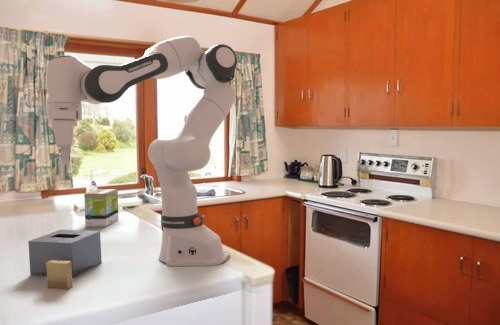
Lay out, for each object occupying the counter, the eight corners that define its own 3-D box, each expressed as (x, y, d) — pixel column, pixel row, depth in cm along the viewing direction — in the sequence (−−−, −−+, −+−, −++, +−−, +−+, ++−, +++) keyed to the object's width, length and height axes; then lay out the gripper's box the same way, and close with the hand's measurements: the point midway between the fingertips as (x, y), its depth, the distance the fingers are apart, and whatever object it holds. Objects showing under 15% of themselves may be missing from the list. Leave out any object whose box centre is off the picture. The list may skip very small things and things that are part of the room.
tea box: (107, 226, 180) (106, 193, 179) (84, 227, 180) (82, 193, 179) (119, 219, 195) (117, 188, 194) (98, 219, 195) (96, 188, 194)
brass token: (72, 287, 110) (71, 261, 109) (67, 289, 108) (66, 263, 107) (52, 285, 111) (51, 260, 111) (47, 288, 109) (46, 262, 109)
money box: (101, 262, 130) (100, 231, 129) (73, 278, 117) (71, 243, 116) (62, 260, 133) (60, 229, 132) (30, 275, 120) (28, 241, 119)
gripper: (55, 115, 126) (56, 161, 126) (49, 111, 106) (51, 165, 107) (77, 116, 128) (79, 161, 129) (76, 112, 109) (77, 165, 110)
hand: (66, 163), depth 118 cm, fingers open, 8 cm apart
